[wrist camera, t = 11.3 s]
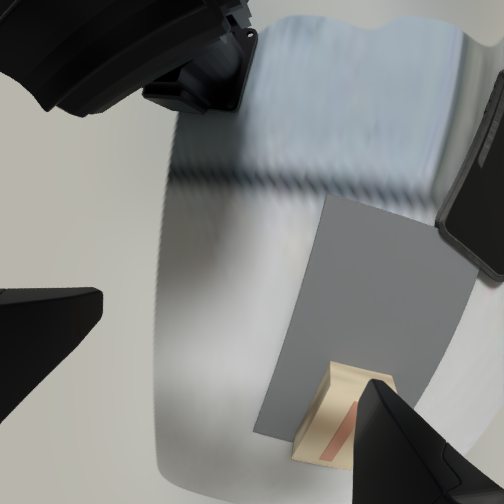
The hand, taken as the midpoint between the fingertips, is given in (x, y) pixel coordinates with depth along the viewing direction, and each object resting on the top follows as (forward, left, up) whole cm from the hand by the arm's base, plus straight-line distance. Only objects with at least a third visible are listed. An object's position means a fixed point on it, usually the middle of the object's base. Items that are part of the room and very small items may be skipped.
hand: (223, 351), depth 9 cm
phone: (-11, +15, -13) cm, 22 cm away
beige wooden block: (+10, +8, -12) cm, 17 cm away
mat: (+5, +8, -12) cm, 15 cm away
